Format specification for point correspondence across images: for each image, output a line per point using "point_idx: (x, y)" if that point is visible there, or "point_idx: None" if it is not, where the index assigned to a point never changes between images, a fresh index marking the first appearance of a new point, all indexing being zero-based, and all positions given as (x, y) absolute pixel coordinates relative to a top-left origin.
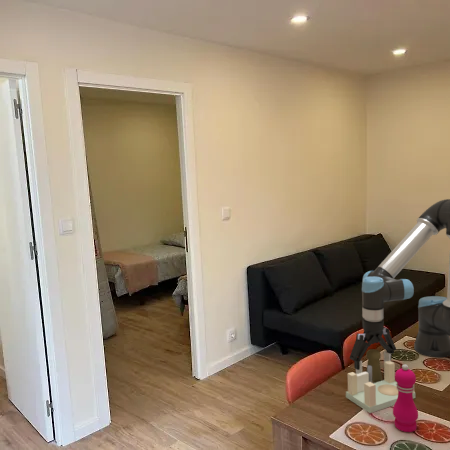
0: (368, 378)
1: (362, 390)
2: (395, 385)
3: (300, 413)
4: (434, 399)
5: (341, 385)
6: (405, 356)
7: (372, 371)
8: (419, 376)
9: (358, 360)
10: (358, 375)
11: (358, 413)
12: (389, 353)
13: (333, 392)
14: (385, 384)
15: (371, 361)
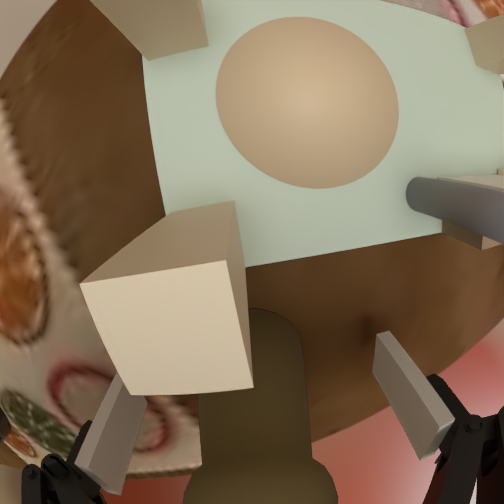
0: (501, 187)
1: (477, 175)
2: (208, 144)
3: None
4: (76, 14)
5: (447, 322)
6: (33, 419)
7: (292, 372)
8: (6, 272)
9: (479, 421)
10: None
11: None
12: (82, 468)
13: (499, 271)
14: (288, 184)
15: (304, 448)
